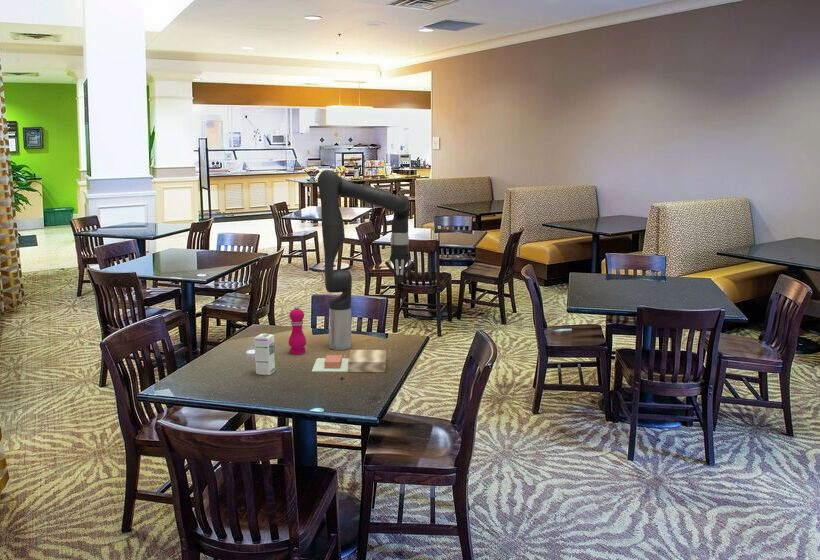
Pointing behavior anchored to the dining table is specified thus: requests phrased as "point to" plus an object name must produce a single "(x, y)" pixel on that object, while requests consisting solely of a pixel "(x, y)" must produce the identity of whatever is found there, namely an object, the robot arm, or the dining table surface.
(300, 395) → the dining table surface
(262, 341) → the syrup box
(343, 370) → the mat
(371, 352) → the board
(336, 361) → the tile
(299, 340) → the pepper mill
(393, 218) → the robot arm
